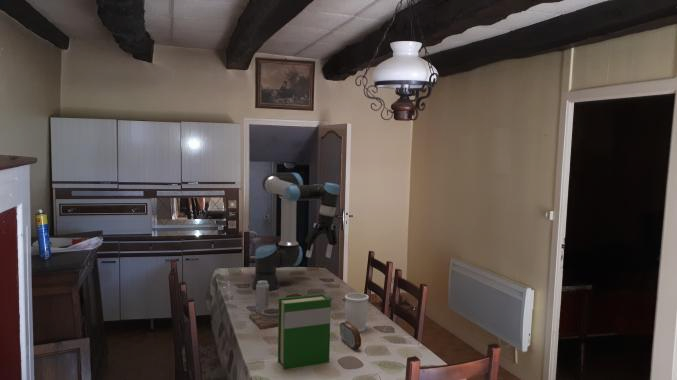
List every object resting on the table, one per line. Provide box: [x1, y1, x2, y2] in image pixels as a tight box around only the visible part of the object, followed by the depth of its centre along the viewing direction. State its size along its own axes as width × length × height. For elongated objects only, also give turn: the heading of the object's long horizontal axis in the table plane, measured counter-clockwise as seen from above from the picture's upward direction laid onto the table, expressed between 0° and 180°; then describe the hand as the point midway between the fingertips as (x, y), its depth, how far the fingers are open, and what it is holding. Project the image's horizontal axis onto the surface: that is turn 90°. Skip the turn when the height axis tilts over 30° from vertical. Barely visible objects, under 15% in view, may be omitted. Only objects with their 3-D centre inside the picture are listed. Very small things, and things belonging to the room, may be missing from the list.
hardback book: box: [277, 293, 332, 371], centre depth 185 cm, size 18×7×24 cm, turn 114°
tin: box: [339, 320, 362, 350], centre depth 203 cm, size 15×3×8 cm, turn 25°
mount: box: [248, 307, 279, 330], centre depth 229 cm, size 16×16×4 cm
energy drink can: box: [255, 280, 270, 314], centre depth 240 cm, size 6×6×15 cm
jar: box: [344, 292, 370, 333], centre depth 221 cm, size 11×10×15 cm
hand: (318, 257), depth 245 cm, fingers open, 13 cm apart
